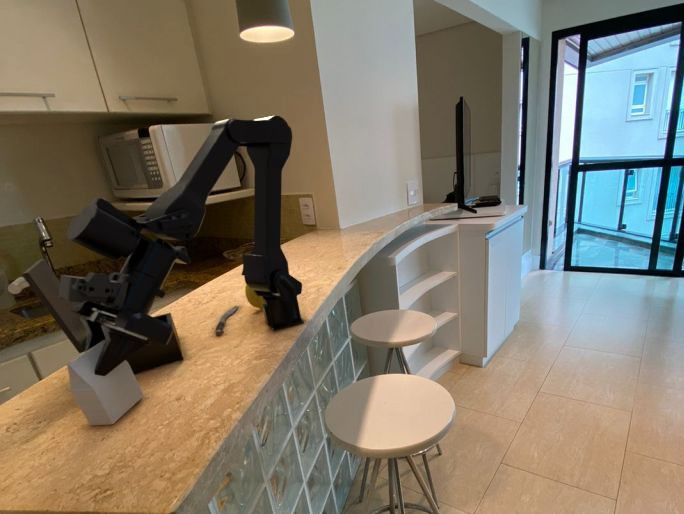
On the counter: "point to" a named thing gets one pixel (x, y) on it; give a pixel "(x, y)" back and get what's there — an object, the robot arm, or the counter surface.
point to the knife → (222, 320)
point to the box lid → (53, 301)
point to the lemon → (253, 298)
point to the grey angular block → (102, 388)
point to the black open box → (157, 351)
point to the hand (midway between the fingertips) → (91, 375)
